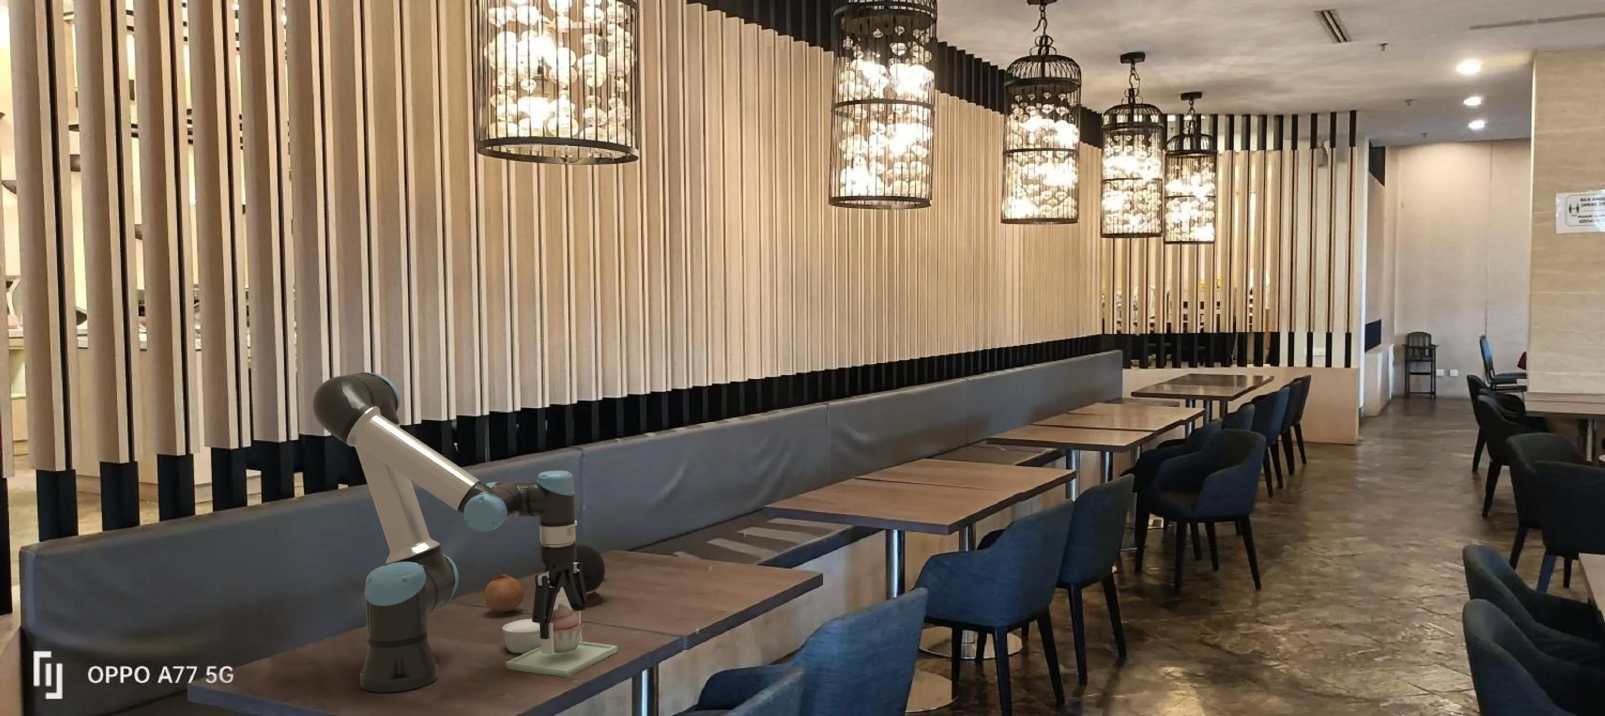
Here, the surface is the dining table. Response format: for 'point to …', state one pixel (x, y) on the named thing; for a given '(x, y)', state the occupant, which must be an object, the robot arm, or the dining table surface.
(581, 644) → the tray
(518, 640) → the ramekin
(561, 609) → the cupcake
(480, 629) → the dining table surface
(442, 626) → the dining table surface
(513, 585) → the onion
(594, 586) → the black ball on stand
